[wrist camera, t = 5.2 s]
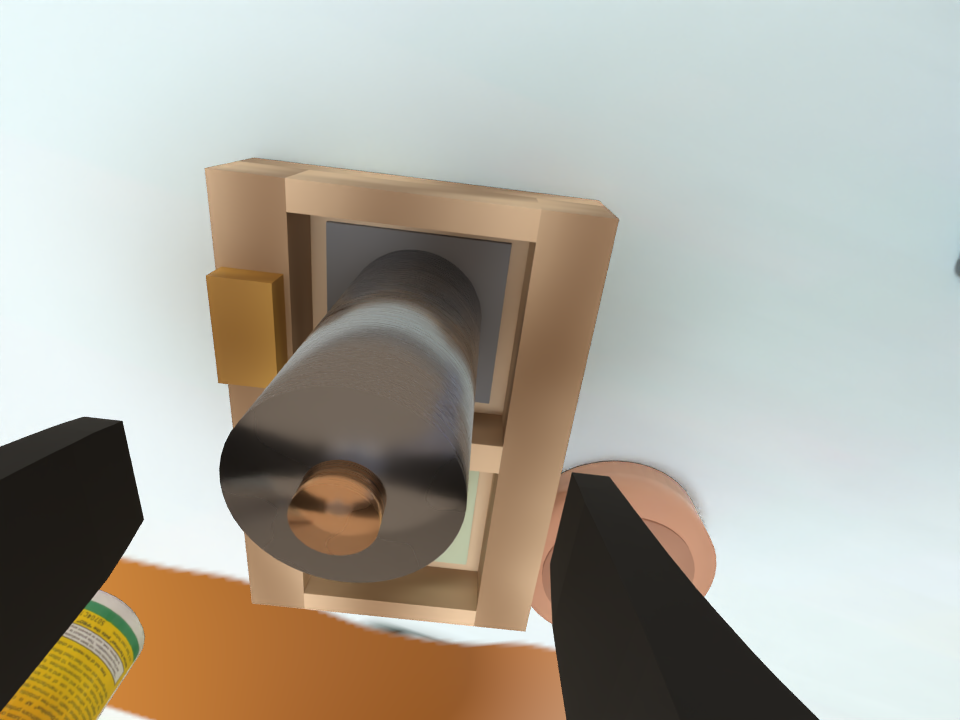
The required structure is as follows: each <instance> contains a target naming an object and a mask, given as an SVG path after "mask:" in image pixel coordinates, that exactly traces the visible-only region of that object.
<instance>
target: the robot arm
mask: <svg viewBox="0 0 960 720" xmlns="http://www.w3.org/2000/svg"><path fill="white" fill-rule="evenodd" d="M143 520H144V518H143V513H142V509H141V504H140V499H139V495H138V490H137V486H136V481H135V476H134V472H133V467H132V463H131V458H130V454H129V449H128V444H127V440H126V435H125V431H124V426H123V421H117V420H109V419H100V418H91V417H81V418H78V419H75V420H72V421H68V422H65V423H62V424H59V425H57V426H54V427H51V428H48V429H45V430H43V431H40V432H37V433H35V434H32V435H29V436H27V437H24V438H21V439H19V440H16V441H14V442H11V443H9V444H6V445H4V446H1V447H0V712H1V711H2V710H3V709H4V707H5V706H6V705H7V704H8V702H9V701H10V700H11V699H12V697H13V696H14V695H15V694H16V692H17V691H18V690H19V689H20V688H21V686H22V685H23V684H24V683H25V681H26V680H27V679H28V678H29V676H30V675H31V674H32V673H33V671H34V670H35V669H36V668H37V667H38V665H39V664H40V663H41V662H42V660H43V659H44V658H45V657H46V655H47V654H48V653H49V652H50V650H51V649H52V648H53V647H54V646H55V644H56V643H57V642H58V641H59V639H60V638H61V637H62V636H63V634H64V633H65V632H66V631H67V629H68V628H69V627H70V626H71V624H72V623H73V622H74V621H75V619H76V618H77V617H78V616H79V614H80V613H81V612H82V611H83V609H84V608H85V607H86V606H87V604H88V603H89V602H90V601H91V599H92V598H93V597H94V596H95V594H96V593H97V592H98V590H99V589H100V588H101V586H102V585H103V584H104V583H105V581H106V580H107V579H108V577H109V576H110V574H111V573H112V571H113V569H114V568H115V566H116V565H117V563H118V561H119V560H120V559H121V557H122V555H123V554H124V552H125V551H126V549H127V547H128V546H129V544H130V542H131V541H132V539H133V537H134V536H135V534H136V532H137V530H138V529H139V527H140V525H141V524H142V522H143ZM550 583H551V608H552V627H553V634H554V641H555V647H556V654H557V661H558V667H559V673H560V681H561V687H562V694H563V700H564V707H565V712H566V719H567V720H819V719H818V718H817V717H816V716H815V715H814V714H813V713H812V712H811V711H810V710H809V709H808V708H807V707H806V706H805V705H804V704H803V703H802V702H801V701H800V700H799V699H798V698H797V697H796V696H795V695H794V694H793V693H792V692H791V691H790V690H789V689H788V688H787V687H786V686H785V685H784V684H783V683H782V682H781V681H780V680H779V679H778V678H777V677H776V676H775V675H774V674H773V673H772V672H771V671H770V670H769V669H768V667H767V666H766V665H765V664H764V663H763V662H762V661H761V660H760V659H759V658H758V657H757V656H756V655H755V654H754V653H753V652H752V650H751V649H750V648H749V647H748V646H747V645H746V644H745V643H744V642H743V640H742V639H741V638H740V637H739V636H738V635H737V634H736V633H735V632H734V630H733V629H732V628H731V627H730V626H729V625H728V624H727V623H726V622H725V620H724V619H723V618H722V617H721V616H720V615H719V614H718V613H717V612H716V610H715V609H714V608H713V607H712V606H711V605H710V603H709V602H708V601H707V600H706V599H705V598H704V596H703V595H702V594H701V593H700V592H699V591H698V589H697V588H696V587H695V586H694V585H693V583H692V582H691V581H690V580H689V578H688V577H687V576H686V575H685V574H684V572H683V571H682V570H681V569H680V567H679V566H678V565H677V564H676V562H675V561H674V560H673V559H672V558H671V556H670V555H669V554H668V552H667V551H666V550H665V549H664V547H663V546H662V545H661V544H660V542H659V541H658V540H657V538H656V537H655V536H654V534H653V533H652V532H651V531H650V529H649V528H648V527H647V525H646V524H645V523H644V521H643V520H642V519H641V517H640V516H639V515H638V513H637V512H636V511H635V510H634V508H633V507H632V506H631V504H630V503H629V502H628V500H627V499H626V498H625V496H624V495H623V494H622V492H621V491H620V490H619V488H618V487H617V486H616V484H615V483H614V482H613V481H612V479H611V478H610V477H609V476H602V475H593V474H584V473H575V472H572V474H571V478H570V482H569V486H568V490H567V494H566V499H565V503H564V507H563V511H562V515H561V520H560V524H559V528H558V532H557V536H556V541H555V545H554V549H553V553H552V557H551V561H550Z"/></svg>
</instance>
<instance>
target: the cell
mask: <svg viewBox="0 0 960 720" xmlns="http://www.w3.org/2000/svg"><path fill="white" fill-rule="evenodd" d="M480 329H481V307H480V302H479V298H478V296H477V293H476V291H475V289H474V287H473V285H472V283H471V282H470V280H469V279H468V278H467V276H466V275H465V274H464V273H463V272H462V271H461V270H460V269H459V268H458V267H457V266H455V265H454V264H453V263H451V262H450V261H448V260H447V259H445V258H443V257H441V256H438V255H436V254H433V253H430V252H426V251H421V250H399V251H394V252H390V253H388V254H385V255H382V256H380V257H379V258H377V259H375V260H373V261H372V262H371V263H369V264H368V265H367V266H366V267H365V268H364V269H363V270H362V271H361V272H360V273H359V275H358V276H357V277H356V278H355V280H354V281H353V282H352V283H351V284H350V286H349V287H348V288H347V289H346V291H345V292H344V293H343V294H342V295H341V297H340V298H339V299H338V300H337V302H336V303H335V304H334V305H333V307H332V308H331V309H330V310H329V311H328V313H327V314H326V315H325V316H324V318H323V319H322V320H321V321H320V322H319V324H318V325H317V326H316V327H315V329H314V330H313V331H312V332H311V333H310V335H309V336H308V337H307V338H306V340H305V341H304V342H303V343H302V344H301V346H300V347H299V348H298V349H297V351H296V352H295V353H294V354H293V355H292V357H291V358H290V359H289V360H288V362H287V363H286V364H285V365H284V367H283V368H282V369H281V370H280V371H279V373H278V374H277V375H276V376H275V378H274V379H273V380H272V381H271V382H270V384H269V385H268V386H267V387H266V389H265V390H264V391H263V392H262V393H261V395H260V396H259V397H258V398H257V400H256V401H255V402H254V403H253V404H252V406H251V407H250V408H249V409H248V411H247V412H246V413H245V414H244V415H243V417H242V418H241V419H240V420H239V422H238V423H237V424H236V426H235V427H234V428H233V430H232V431H231V432H230V434H229V436H228V438H227V440H226V442H225V444H224V448H223V451H222V454H221V459H220V468H219V471H220V484H221V488H222V493H223V496H224V499H225V502H226V504H227V507H228V509H229V510H230V512H231V514H232V516H233V518H234V519H235V521H236V522H237V523H238V525H239V526H240V528H241V529H242V530H243V531H244V532H245V533H246V535H247V536H248V537H249V538H250V539H251V540H252V541H253V542H254V543H255V544H257V545H258V546H259V547H260V548H261V549H262V550H264V551H265V552H267V553H268V554H269V555H271V556H272V557H274V558H275V559H277V560H279V561H281V562H282V563H284V564H286V565H288V566H290V567H292V568H294V569H297V570H299V571H301V572H304V573H307V574H310V575H313V576H316V577H320V578H324V579H328V580H334V581H340V582H352V583H371V582H380V581H387V580H391V579H396V578H400V577H403V576H406V575H408V574H411V573H414V572H416V571H418V570H420V569H422V568H424V567H426V566H427V565H429V564H430V563H432V562H433V561H435V560H436V559H437V558H438V557H439V556H440V555H442V554H443V553H444V552H445V551H446V550H447V549H448V547H449V546H450V545H451V544H452V543H453V541H454V540H455V538H456V536H457V535H458V533H459V531H460V529H461V526H462V524H463V521H464V517H465V513H466V508H467V495H468V482H469V469H470V456H471V444H472V431H473V418H474V405H475V393H476V380H477V367H478V354H479V342H480Z"/></svg>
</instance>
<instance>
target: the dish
mask: <svg viewBox="0 0 960 720" xmlns="http://www.w3.org/2000/svg"><path fill="white" fill-rule="evenodd" d="M572 472H575V473H584V474H593V475H602V476H609V477H610V478H611V479H612V481H613V482H614V483H615V484H616V486H617V487H618V488H619V490H620V491H621V492H622V494H623V495H624V496H625V498H626V499H627V500H628V502H629V503H630V504H631V506H632V507H633V508H634V510H635V511H636V512H637V513H638V515H639V516H640V517H641V519H642V520H643V521H644V523H645V524H646V525H647V527H648V528H649V529H650V531H651V532H652V533H653V534H654V536H655V537H656V538H657V540H658V541H659V542H660V544H661V545H662V546H663V547H664V549H665V550H666V551H667V552H668V554H669V555H670V556H671V558H672V559H673V560H674V561H675V562H676V564H677V565H678V566H679V567H680V569H681V570H682V571H683V572H684V574H685V575H686V576H687V577H688V578H689V580H690V581H691V582H692V583H693V585H694V586H695V587H696V588H697V589H698V591H699V592H700V593H701V594H702V595H703V596H705V595H706V594H707V592H708V590H709V588H710V586H711V584H712V582H713V579H714V576H715V571H716V554H715V549H714V546H713V544H712V541H711V539H710V537H709V535H708V533H707V531H706V529H705V527H704V525H703V523H702V521H701V519H700V517H699V515H698V513H697V511H696V509H695V507H694V505H693V503H692V501H691V499H690V497H689V496H688V494H687V493H686V491H685V490H684V489H683V488H682V487H681V486H680V485H679V484H678V483H677V482H676V481H675V480H673V479H672V478H671V477H669V476H668V475H666V474H664V473H663V472H661V471H658V470H656V469H654V468H651V467H648V466H645V465H641V464H636V463H631V462H619V461H609V462H598V463H592V464H587V465H583V466H579V467H576V468H574V469H571V470H568V471H566V472H564V473H562V474H561V477H560V481H559V485H558V490H557V494H556V499H555V503H554V507H553V512H552V516H551V520H550V525H549V529H548V534H547V538H546V542H545V547H544V551H543V556H542V560H541V564H540V569H539V573H538V578H537V582H536V586H535V591H534V595H533V600H532V604H531V606H532V608H533V609H534V610H535V611H536V612H537V613H538V614H539V615H540V616H542V617H543V618H544V619H545V620H547V621H548V622H550V623H551V624H552V608H551V583H550V561H551V557H552V553H553V549H554V545H555V541H556V536H557V532H558V528H559V524H560V520H561V515H562V511H563V507H564V503H565V499H566V494H567V490H568V486H569V482H570V478H571V474H572Z"/></svg>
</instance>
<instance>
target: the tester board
mask: <svg viewBox="0 0 960 720" xmlns="http://www.w3.org/2000/svg"><path fill="white" fill-rule="evenodd" d="M205 175H206V184H207V193H208V202H209V211H210V221H211V230H212V239H213V248H214V258H215V267H216V270H215V271H213V272H211V273H210V274H208V275H206V281H207V290H208V298H209V307H210V315H211V324H212V332H213V341H214V349H215V358H216V366H217V375H218V383H223V384H228V387H229V396H230V405H231V414H232V423H233V428H234V427H235V426H236V424H237V423H238V422H239V420H240V419H241V418H242V417H243V415H244V414H245V413H246V412H247V411H248V409H249V408H250V407H251V406H252V404H253V403H254V402H255V401H256V400H257V398H258V397H259V396H260V395H261V393H262V392H263V391H264V390H265V389H266V387H267V386H268V385H269V384H270V382H271V381H272V380H273V379H274V378H275V376H276V375H277V374H278V373H279V371H280V370H281V369H282V368H283V367H284V365H285V364H286V363H287V362H288V360H289V359H290V358H291V357H292V355H293V354H294V353H295V352H296V351H297V349H298V348H299V347H300V346H301V344H302V343H303V342H304V341H305V340H306V338H307V337H308V336H309V335H310V333H311V332H312V331H313V330H314V329H315V327H316V326H317V325H318V324H319V322H320V321H321V320H322V319H323V318H324V316H325V315H326V314H327V313H328V311H329V310H330V309H331V308H332V307H333V305H334V304H335V303H336V302H337V300H338V299H339V298H340V297H341V295H342V294H343V293H344V292H345V291H346V289H347V288H348V287H349V286H350V284H351V283H352V282H353V281H354V280H355V278H356V277H357V276H358V275H359V273H360V272H361V271H362V270H363V269H364V268H365V267H366V266H367V265H368V264H369V263H371V262H372V261H373V260H375V259H377V258H379V257H380V256H382V255H385V254H388V253H390V252H394V251H399V250H421V251H426V252H430V253H433V254H436V255H438V256H441V257H443V258H445V259H447V260H448V261H450V262H451V263H453V264H454V265H455V266H457V267H458V268H459V269H460V270H461V271H462V272H463V273H464V274H465V275H466V276H467V278H468V279H469V280H470V282H471V283H472V285H473V287H474V289H475V291H476V293H477V296H478V298H479V302H480V307H481V329H480V342H479V354H478V367H477V380H476V393H475V405H474V418H473V431H472V444H471V456H470V469H469V482H468V495H467V508H466V513H465V517H464V521H463V524H462V526H461V529H460V531H459V533H458V535H457V536H456V538H455V540H454V541H453V543H452V544H451V545H450V546H449V547H448V549H447V550H446V551H445V552H444V553H443V554H442V555H440V556H439V557H438V558H437V559H436V560H435V561H433V562H432V563H430V564H429V565H427V566H426V567H424V568H422V569H420V570H418V571H416V572H414V573H411V574H408V575H406V576H403V577H400V578H396V579H391V580H387V581H380V582H371V583H352V582H340V581H334V580H328V579H324V578H320V577H316V576H313V575H310V574H307V573H304V572H301V571H299V570H297V569H294V568H292V567H290V566H288V565H286V564H284V563H282V562H281V561H279V560H277V559H275V558H274V557H272V556H271V555H269V554H268V553H267V552H265V551H264V550H262V549H261V548H260V547H259V546H258V545H257V544H255V543H254V542H253V541H252V540H251V539H250V538H249V537H248V536H247V535H246V533H245V532H244V534H245V543H246V553H247V562H248V571H249V580H250V589H251V598H252V603H254V604H263V605H273V606H283V607H293V608H303V609H312V610H322V611H331V612H341V613H351V614H360V615H370V616H380V617H390V618H399V619H409V620H419V621H429V622H438V623H448V624H458V625H467V626H477V627H487V628H497V629H506V630H516V631H525V630H526V626H527V622H528V617H529V613H530V608H531V604H532V600H533V595H534V591H535V586H536V582H537V578H538V573H539V569H540V564H541V560H542V556H543V551H544V547H545V542H546V538H547V534H548V529H549V525H550V520H551V516H552V512H553V507H554V503H555V499H556V494H557V490H558V485H559V481H560V477H561V472H562V468H563V463H564V459H565V455H566V450H567V446H568V441H569V437H570V433H571V428H572V424H573V419H574V415H575V411H576V406H577V402H578V397H579V393H580V389H581V384H582V380H583V375H584V371H585V367H586V362H587V358H588V353H589V349H590V345H591V340H592V336H593V332H594V327H595V323H596V318H597V314H598V310H599V305H600V301H601V296H602V292H603V288H604V283H605V279H606V274H607V270H608V266H609V261H610V257H611V252H612V248H613V244H614V239H615V235H616V230H617V226H618V222H619V219H618V218H617V217H616V216H615V215H614V214H613V213H612V212H611V211H610V210H608V209H607V208H606V207H605V206H604V205H603V204H602V203H601V202H600V201H598V200H590V199H582V198H574V197H566V196H558V195H550V194H542V193H534V192H526V191H518V190H510V189H502V188H493V187H485V186H477V185H469V184H461V183H453V182H445V181H437V180H429V179H421V178H413V177H405V176H397V175H389V174H381V173H373V172H365V171H356V170H348V169H340V168H332V167H324V166H316V165H308V164H300V163H292V162H284V161H276V160H268V159H260V158H250V159H245V160H241V161H236V162H231V163H227V164H222V165H217V166H213V167H208V168H205Z"/></svg>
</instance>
